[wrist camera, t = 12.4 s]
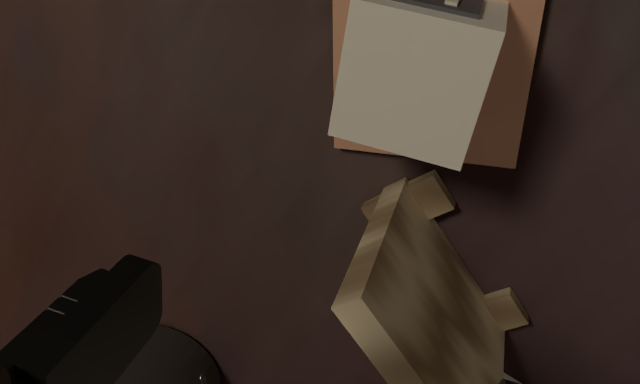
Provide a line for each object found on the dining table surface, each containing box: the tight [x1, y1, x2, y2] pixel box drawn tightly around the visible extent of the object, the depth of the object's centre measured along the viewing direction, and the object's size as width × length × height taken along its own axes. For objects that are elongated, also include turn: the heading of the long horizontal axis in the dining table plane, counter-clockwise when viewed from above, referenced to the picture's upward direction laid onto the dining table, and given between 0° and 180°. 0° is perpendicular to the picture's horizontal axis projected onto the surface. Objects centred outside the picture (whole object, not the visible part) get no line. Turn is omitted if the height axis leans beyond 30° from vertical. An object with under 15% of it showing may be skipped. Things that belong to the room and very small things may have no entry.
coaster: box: [333, 0, 545, 169], centre depth 28 cm, size 10×10×1 cm
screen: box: [331, 169, 529, 384], centre depth 29 cm, size 12×5×11 cm, turn 36°
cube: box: [328, 0, 509, 171], centre depth 24 cm, size 6×6×6 cm
